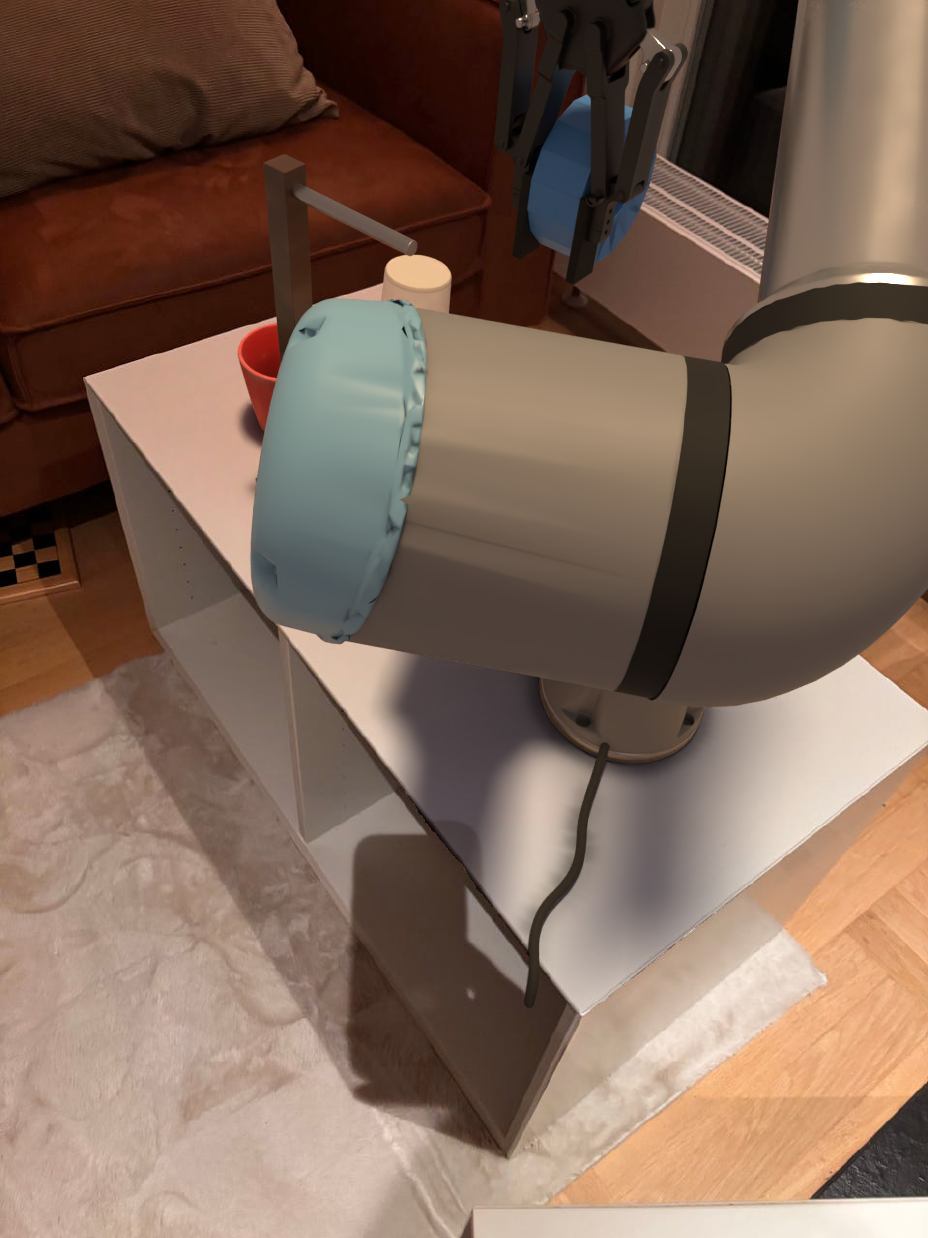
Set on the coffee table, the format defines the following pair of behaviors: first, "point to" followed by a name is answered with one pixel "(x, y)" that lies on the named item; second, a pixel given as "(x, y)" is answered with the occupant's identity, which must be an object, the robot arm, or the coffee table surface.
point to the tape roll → (573, 184)
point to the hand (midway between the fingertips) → (552, 263)
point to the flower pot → (260, 367)
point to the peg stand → (305, 238)
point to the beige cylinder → (418, 282)
